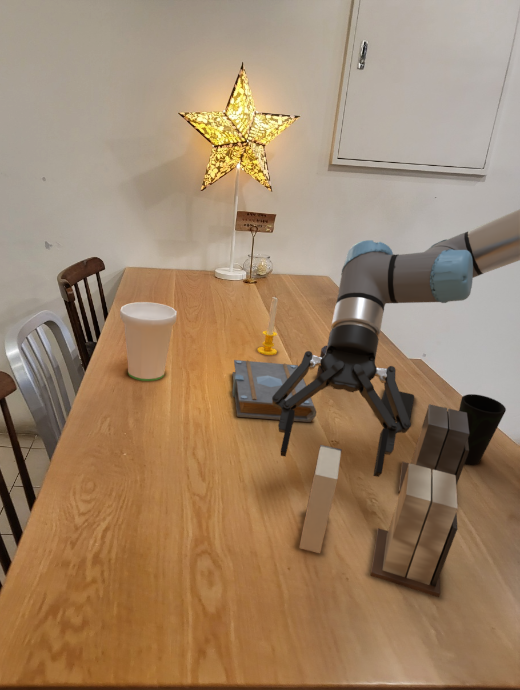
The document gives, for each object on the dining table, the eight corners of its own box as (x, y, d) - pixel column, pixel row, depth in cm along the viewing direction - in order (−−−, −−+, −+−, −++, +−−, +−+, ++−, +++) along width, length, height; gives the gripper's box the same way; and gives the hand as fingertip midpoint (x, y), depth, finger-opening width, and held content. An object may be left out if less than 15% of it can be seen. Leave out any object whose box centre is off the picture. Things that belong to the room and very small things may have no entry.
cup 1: (168, 362, 132) (172, 302, 125) (177, 385, 122) (181, 320, 115) (117, 363, 129) (117, 301, 122) (121, 385, 118) (122, 319, 111)
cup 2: (456, 469, 101) (476, 413, 96) (436, 447, 108) (453, 393, 102) (493, 468, 102) (515, 413, 97) (470, 447, 109) (489, 394, 104)
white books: (438, 550, 80) (466, 474, 74) (438, 598, 71) (470, 516, 65) (376, 532, 82) (399, 456, 76) (370, 576, 74) (394, 495, 68)
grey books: (451, 478, 98) (475, 412, 92) (453, 509, 90) (479, 438, 83) (401, 464, 100) (420, 399, 94) (398, 494, 92) (419, 424, 86)
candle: (268, 347, 149) (276, 292, 142) (280, 354, 145) (289, 297, 138) (253, 349, 146) (261, 293, 139) (265, 356, 142) (273, 299, 135)
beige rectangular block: (325, 519, 84) (341, 449, 78) (320, 554, 77) (338, 479, 71) (305, 515, 84) (320, 444, 78) (298, 548, 77) (314, 473, 71)
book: (314, 424, 111) (318, 402, 109) (234, 418, 110) (237, 396, 108) (298, 381, 130) (301, 362, 128) (230, 375, 129) (232, 356, 127)
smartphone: (377, 413, 117) (385, 387, 129) (376, 416, 117) (384, 390, 130) (410, 421, 115) (414, 394, 127) (409, 424, 115) (413, 397, 128)
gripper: (431, 358, 85) (412, 488, 79) (276, 331, 90) (247, 452, 84) (444, 337, 78) (425, 478, 72) (275, 309, 83) (243, 439, 77)
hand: (329, 464), depth 78 cm, fingers open, 13 cm apart
